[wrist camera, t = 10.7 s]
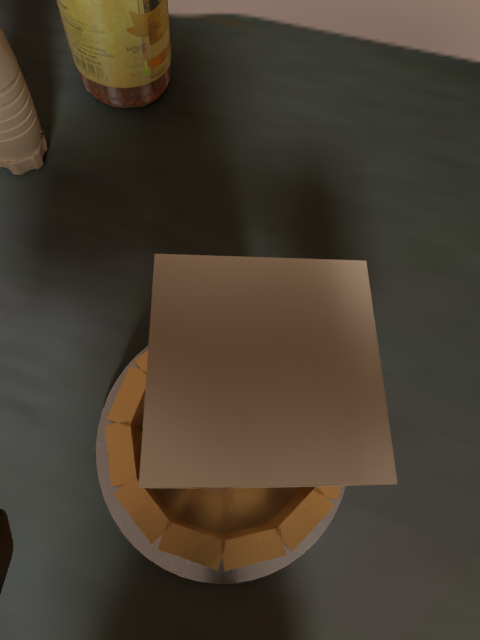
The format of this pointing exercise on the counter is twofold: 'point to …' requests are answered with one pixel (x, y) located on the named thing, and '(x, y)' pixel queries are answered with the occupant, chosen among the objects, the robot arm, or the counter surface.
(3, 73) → the handle
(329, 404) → the post
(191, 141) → the counter surface
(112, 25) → the sauce bottle
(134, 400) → the segmented gold bowl
